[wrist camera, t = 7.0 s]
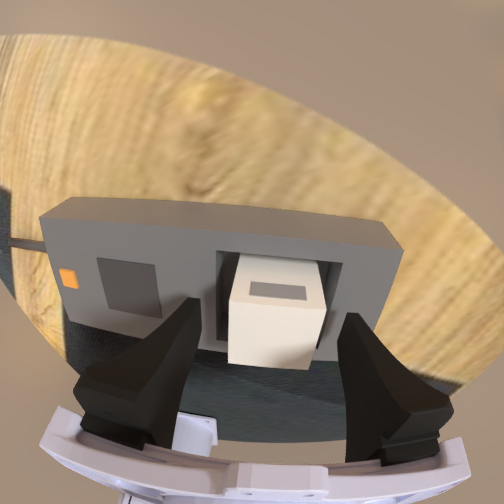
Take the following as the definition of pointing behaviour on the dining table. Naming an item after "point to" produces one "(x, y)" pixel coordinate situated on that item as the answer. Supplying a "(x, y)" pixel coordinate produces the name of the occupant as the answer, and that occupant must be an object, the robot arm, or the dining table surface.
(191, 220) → the power strip
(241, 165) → the dining table surface
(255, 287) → the plug
